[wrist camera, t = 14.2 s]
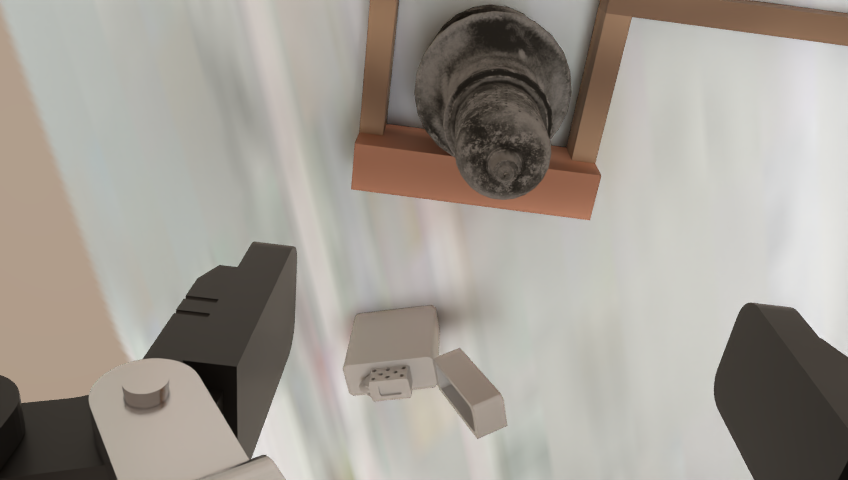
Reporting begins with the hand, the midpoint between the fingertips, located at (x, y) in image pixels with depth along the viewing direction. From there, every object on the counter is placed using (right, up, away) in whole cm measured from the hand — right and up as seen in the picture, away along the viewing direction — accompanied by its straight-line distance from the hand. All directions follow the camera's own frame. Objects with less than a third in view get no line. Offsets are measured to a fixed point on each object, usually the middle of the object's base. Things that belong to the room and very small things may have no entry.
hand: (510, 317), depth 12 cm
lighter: (-1, -3, +23) cm, 23 cm away
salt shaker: (+1, +9, +17) cm, 19 cm away
